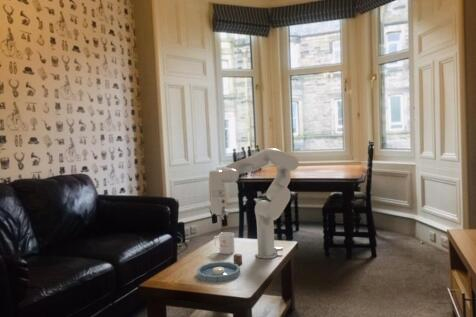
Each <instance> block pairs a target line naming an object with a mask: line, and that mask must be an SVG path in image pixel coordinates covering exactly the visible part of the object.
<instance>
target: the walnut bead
mask: <svg viewBox="0 0 476 317" xmlns="http://www.w3.org/2000/svg"><path fill="white" fill-rule="evenodd" d="M233 263H234V264H237V265H238V266H239V267H240V266H242V265H243V256H242V253H241V254H240V253H236V254H234V253H233Z"/></svg>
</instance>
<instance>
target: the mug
mask: <svg viewBox="0 0 476 317" xmlns="http://www.w3.org/2000/svg"><path fill="white" fill-rule="evenodd" d="M217 238H218V243H219V245H217ZM213 240H214V246H215V247H216V248H217V249H218V250H219V252H220V253H221V254H222V255H231V254H234V253H235V250H236V249H235V248H236V247H235V233H234V232H229V231H228V232H227V231H225V232H220V233H219V234H218V235H215V236H214V237H213Z"/></svg>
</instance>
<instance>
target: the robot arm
mask: <svg viewBox="0 0 476 317" xmlns="http://www.w3.org/2000/svg"><path fill="white" fill-rule="evenodd" d="M270 164H271V165H275V167H276V175H275V177H274V179H273V181H272V182H271V184H270V185H269V187H268V189H267V190H266V194H265V195H266V198H267V199H268V200H266V199H264V200H263V199H262V200H258V201H257V202H256V204H255V206H254V214H255V220H256V234H257V251H256V252H255V258H259V259H266V260H267V259H274V258H276V257H278V252H282V251H284V248H283V247H279V246H277V247H276V246H275V224H274V223H275V222H274V221H275V220H276V221H277V219H279V218H280V217H281V215H282V214H283V212H284V210H285V209H286V207H287V205H288V204H289V202H290V200H291V195H292V194H291V191H290V189H289V188H288V185H289V184H290V182H291V177H292V176H291V171H296V170H297V169H298V167H299V159H298V158H297V157H296V156H295V155H293V154H290V153H287V152H285V151H282V150H280V149H277V148H270V147H269V148H268V147H267V148H264V149H262V150H260V151H257V152H256V153H254V154H252V155H250V156H248V157H245V158H242V159H239V160H237V161H234V162H232V163H229V164H227V165H226V166H224V167H222V168H220V169H214V170H210V171H209V172H208V177H209V178H208V180H209V191H210V192H209V193H210V206H208V208H209V213H210V216H211V223H212V225H213V224H214V225H215V224H218V216H220V217H221V227H222V228H223V227H228V225H229V224H228V217H229V214H230V213H229V210H228V204H227V203H228V202H227V198H226V195H225V194H226V193H225V183H226V184H227V183H229V184H230V183H231V184H232V183H235V182H237V180H239V176H240V175H241V174H246V173H247V174H248V173H253V172H256V171H257V170H260V169H262V168H264V167H265V166H268V165H270Z"/></svg>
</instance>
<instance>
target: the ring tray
mask: <svg viewBox="0 0 476 317" xmlns="http://www.w3.org/2000/svg"><path fill="white" fill-rule="evenodd" d="M240 275H241V267H240V265H239V266H238V265H237V264H234V262H231V261H216V262H215V261H214V262H208V263H206V264H202V265H200V266H199V267H198V268H197V269H196V276H197V279H199V280H200V281H203V282H205V283H224V282H230V281H233V280H235V279H238V277H239V276H240Z"/></svg>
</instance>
